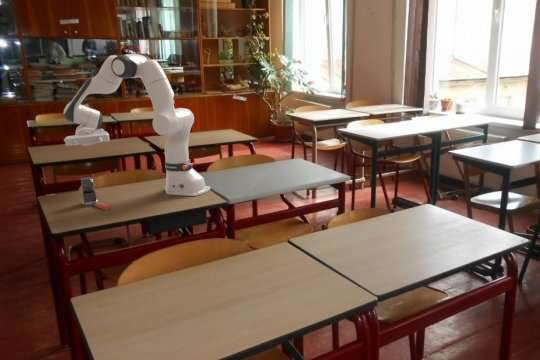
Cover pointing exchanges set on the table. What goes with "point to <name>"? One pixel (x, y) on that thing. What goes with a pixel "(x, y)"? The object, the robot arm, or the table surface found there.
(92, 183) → the socket
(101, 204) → the ratchet
